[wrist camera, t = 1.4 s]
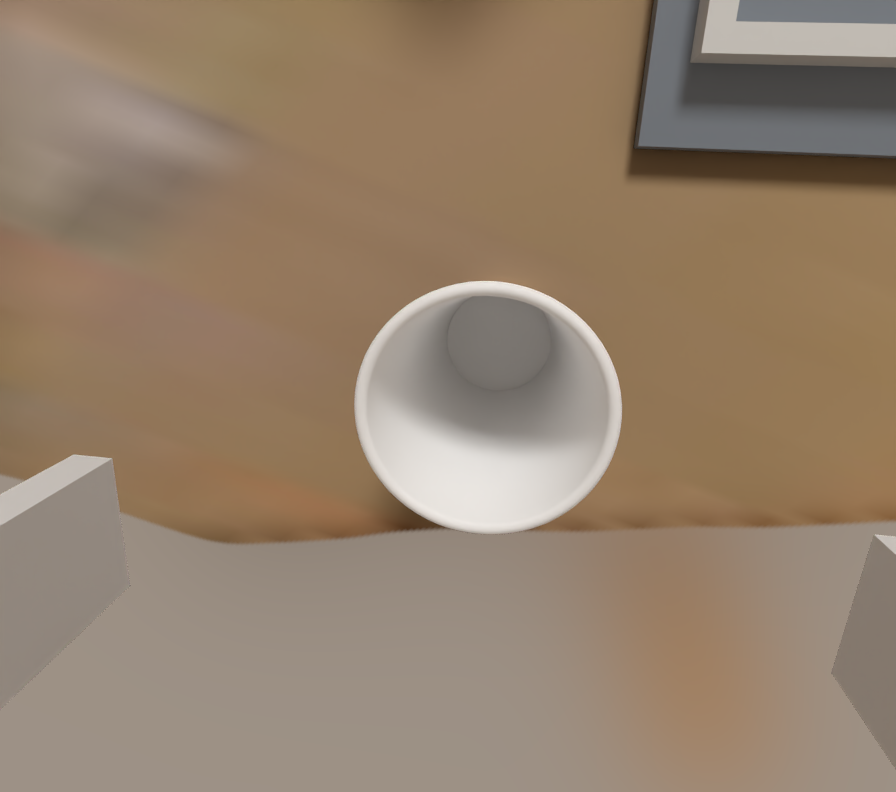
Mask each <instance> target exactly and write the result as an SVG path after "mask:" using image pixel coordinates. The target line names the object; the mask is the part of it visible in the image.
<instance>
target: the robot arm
mask: <svg viewBox="0 0 896 792" xmlns="http://www.w3.org/2000/svg"><path fill="white" fill-rule="evenodd" d="M129 587H130V581H129V573H128V566H127V560H126V552H125V545H124V538H123V531H122V524H121V518H120V510H119V503H118V496H117V489H116V482H115V474H114V467H113V460H112V458H103V457H93V456H83V455H72V456H70V457H68V458H67V459H65V460H63V461H61V462H59V463H57V464H55V465H54V466H52V467H50V468H48V469H46V470H44V471H42V472H41V473H39V474H37V475H35V476H33V477H31V478H30V479H28V480H26V481H24V482H22V483H20V484H18V485H17V486H15V487H13V488H11V489H9V490H7V491H5V492H4V493H2V494H0V710H1V708H3V707H4V706H5V705H6V704H7V703H8V702H9V701H10V700H11V699H12V698H13V697H14V696H15V695H16V694H17V693H18V692H19V691H20V690H22V689H23V688H24V687H25V686H26V685H27V684H28V683H29V682H30V681H31V680H32V679H33V678H34V677H35V676H36V675H37V674H38V673H39V672H40V671H41V670H43V669H44V668H45V667H46V666H47V665H48V664H49V663H50V662H51V661H52V660H53V659H54V658H55V657H56V656H57V655H58V654H59V653H60V652H61V651H62V650H64V649H65V648H66V647H67V646H68V645H69V644H70V643H71V642H72V641H73V640H74V639H75V638H76V637H77V636H78V635H79V634H80V633H81V632H83V630H85V629H86V628H87V627H88V626H89V625H90V624H91V623H92V622H93V621H94V620H95V619H96V618H97V617H98V616H99V615H100V614H101V613H102V612H104V610H106V608H108V607H109V606H110V605H111V604H112V603H113V602H114V601H115V600H116V599H117V598H118V597H119V596H120V595H121V594H122V593H123V592H125V590H127V589H128V588H129ZM832 674H833V676H834V677H835V679H836V680H837V682H838V683H839V685H840V686H841V688H842V689H843V691H844V692H845V694H846V696H847V697H848V699H849V700H850V702H851V703H852V705H853V706H854V707H855V709H856V711H857V712H858V714H859V715H860V717H861V718H862V720H863V721H864V723H865V724H866V726H867V727H868V729H869V730H870V732H871V733H872V735H873V736H874V738H875V739H876V741H877V742H878V744H879V745H880V747H881V748H882V750H883V751H884V753H885V754H886V756H887V757H888V759H889V760H890V762H891V763H892V765H893V766H894V767H895V769H896V537H894V536H885V535H875V534H874V536H873V539H872V542H871V545H870V549H869V552H868V555H867V558H866V562H865V565H864V568H863V571H862V574H861V578H860V581H859V584H858V587H857V591H856V594H855V597H854V601H853V604H852V607H851V610H850V614H849V617H848V620H847V623H846V627H845V630H844V633H843V637H842V640H841V643H840V646H839V649H838V653H837V656H836V659H835V662H834V666H833V669H832Z"/></svg>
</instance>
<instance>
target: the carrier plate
mask: <svg viewBox="0 0 896 792" xmlns="http://www.w3.org/2000/svg"><path fill="white" fill-rule="evenodd" d="M634 148H636V149H662V150H688V151H714V152H740V153H766V154H792V155H818V156H844V157H870V158H896V0H654V3H653V10H652V18H651V25H650V32H649V40H648V47H647V55H646V62H645V69H644V77H643V84H642V92H641V99H640V106H639V114H638V121H637V129H636V136H635V144H634Z"/></svg>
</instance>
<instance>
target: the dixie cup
mask: <svg viewBox="0 0 896 792" xmlns="http://www.w3.org/2000/svg"><path fill="white" fill-rule="evenodd" d="M354 406H355V421H356V428H357V432H358V436H359V440H360V443H361V446H362V449H363V451H364V454H365V456H366V458H367V460H368V462H369V464H370V466H371V467H372V469H373V471H374V472H375V474H376V475H377V477H378V478H379V480H380V481H381V482H382V483H383V485H384V486H385V487H386V488H387V489H388V490H389V491H390V492H391V493H392V494H393V495H394V496H395V497H396V498H397V499H398V500H399V501H400V502H401V503H403V504H404V505H405V506H406V507H408V508H409V509H411V510H412V511H414V512H415V513H417V514H418V515H420V516H422V517H424V518H425V519H427V520H430V521H432V522H434V523H436V524H439V525H441V526H444V527H447V528H450V529H454V530H457V531H462V532H467V533H474V534H493V535H494V534H495V535H496V534H509V533H515V532H520V531H524V530H528V529H532V528H535V527H538V526H540V525H543V524H546V523H548V522H550V521H552V520H554V519H556V518H558V517H559V516H561V515H563V514H564V513H566V512H568V511H569V510H570V509H572V508H573V507H574V506H576V505H577V504H578V503H579V502H580V501H581V500H583V499H584V498H585V497H586V496H587V495H588V494H589V493H590V491H591V490H592V489H593V488H594V487H595V486H596V484H597V483H598V482H599V480H600V479H601V478H602V476H603V474H604V473H605V471H606V469H607V468H608V465H609V463H610V461H611V459H612V457H613V454H614V452H615V449H616V446H617V443H618V438H619V434H620V429H621V421H622V401H621V391H620V386H619V381H618V378H617V375H616V371H615V368H614V366H613V364H612V361H611V359H610V357H609V355H608V353H607V351H606V349H605V348H604V346H603V344H602V343H601V341H600V340H599V338H598V337H597V336H596V334H595V333H594V332H593V331H592V329H591V328H590V327H589V326H588V325H587V324H586V323H585V322H584V321H583V320H582V319H581V318H580V317H579V316H578V315H577V314H576V313H574V312H573V311H572V310H570V309H569V308H568V307H566V306H565V305H563V304H562V303H560V302H558V301H557V300H555V299H553V298H552V297H550V296H547V295H545V294H543V293H541V292H539V291H536V290H533V289H530V288H528V287H524V286H520V285H516V284H512V283H505V282H497V281H475V282H465V283H459V284H454V285H450V286H447V287H443V288H440V289H438V290H435V291H432V292H430V293H428V294H426V295H424V296H422V297H420V298H418V299H416V300H414V301H413V302H411V303H410V304H408V305H407V306H405V307H404V308H403V309H401V310H400V311H399V312H398V313H396V314H395V315H394V316H393V317H392V318H391V319H390V320H389V321H388V322H387V323H386V324H385V326H384V327H383V328H382V329H381V330H380V331H379V333H378V334H377V336H376V337H375V339H374V340H373V342H372V343H371V345H370V347H369V349H368V351H367V352H366V354H365V357H364V359H363V362H362V364H361V367H360V371H359V374H358V378H357V383H356V389H355V401H354Z"/></svg>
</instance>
